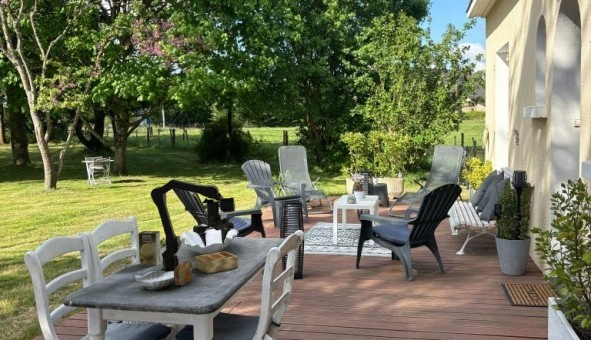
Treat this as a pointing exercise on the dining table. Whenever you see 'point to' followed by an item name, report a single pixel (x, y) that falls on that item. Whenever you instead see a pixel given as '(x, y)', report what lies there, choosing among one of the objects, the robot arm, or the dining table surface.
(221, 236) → the robot arm
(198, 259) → the pine crate
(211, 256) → the terracotta crate
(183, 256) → the dining table surface
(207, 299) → the dining table surface
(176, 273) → the tin
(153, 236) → the coffee box
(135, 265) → the dining table surface
